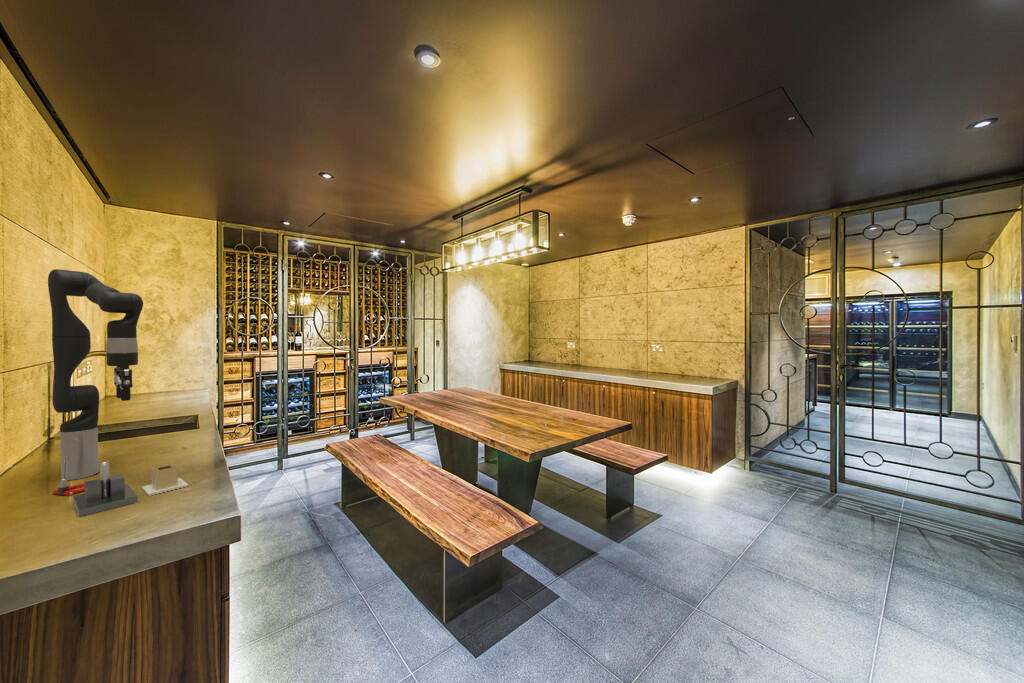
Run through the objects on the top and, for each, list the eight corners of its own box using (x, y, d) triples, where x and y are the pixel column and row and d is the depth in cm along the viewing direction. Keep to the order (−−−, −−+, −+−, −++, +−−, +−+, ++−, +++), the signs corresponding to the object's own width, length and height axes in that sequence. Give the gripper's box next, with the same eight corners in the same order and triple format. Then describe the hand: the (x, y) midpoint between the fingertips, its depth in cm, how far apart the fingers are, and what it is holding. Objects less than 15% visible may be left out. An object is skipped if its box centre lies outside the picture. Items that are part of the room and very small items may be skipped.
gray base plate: (73, 502, 119) (72, 462, 119) (127, 489, 129) (126, 452, 128) (79, 517, 109) (78, 473, 109) (137, 502, 119) (136, 462, 119)
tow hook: (85, 485, 134) (49, 495, 125) (86, 448, 134) (51, 455, 125) (105, 487, 132) (70, 497, 123) (106, 449, 133) (72, 456, 124)
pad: (141, 489, 129) (141, 486, 129) (180, 480, 137) (180, 477, 137) (148, 496, 123) (148, 494, 123) (188, 486, 131) (188, 484, 131)
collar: (151, 486, 130) (151, 468, 130) (173, 481, 134) (173, 463, 134) (155, 490, 126) (155, 471, 126) (177, 484, 131) (177, 467, 131)
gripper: (103, 351, 131) (104, 398, 132) (109, 352, 123) (111, 403, 123) (133, 350, 137) (134, 395, 138) (142, 351, 129) (143, 399, 129)
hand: (123, 399), depth 130 cm, fingers open, 8 cm apart
